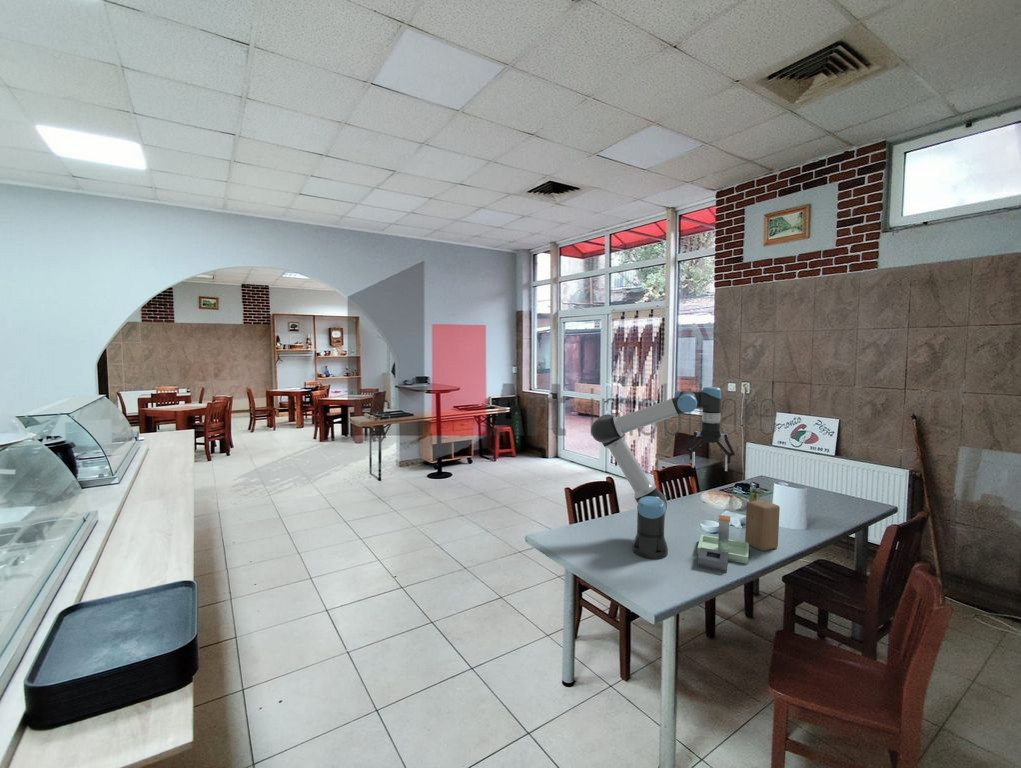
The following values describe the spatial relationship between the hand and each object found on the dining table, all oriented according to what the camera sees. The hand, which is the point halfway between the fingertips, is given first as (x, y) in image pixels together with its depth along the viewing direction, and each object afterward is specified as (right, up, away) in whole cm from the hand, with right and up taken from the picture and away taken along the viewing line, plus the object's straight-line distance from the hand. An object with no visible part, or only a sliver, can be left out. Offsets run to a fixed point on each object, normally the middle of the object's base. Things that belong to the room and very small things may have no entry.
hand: (709, 468), depth 210 cm
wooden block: (+26, -37, +5) cm, 45 cm away
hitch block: (-4, -38, -13) cm, 40 cm away
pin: (+6, -36, -1) cm, 37 cm away
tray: (+6, -37, -1) cm, 37 cm away
